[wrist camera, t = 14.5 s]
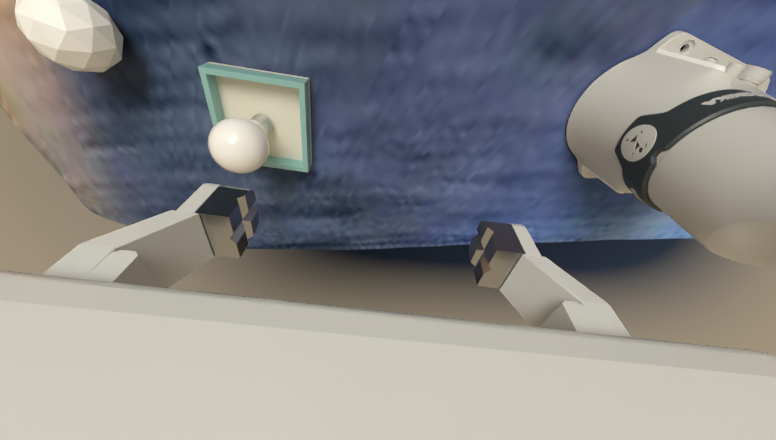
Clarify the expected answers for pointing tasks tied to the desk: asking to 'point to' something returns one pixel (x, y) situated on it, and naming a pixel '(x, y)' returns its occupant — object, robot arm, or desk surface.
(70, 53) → the geometric ball
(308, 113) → the dish
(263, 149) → the lightbulb
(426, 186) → the desk surface
